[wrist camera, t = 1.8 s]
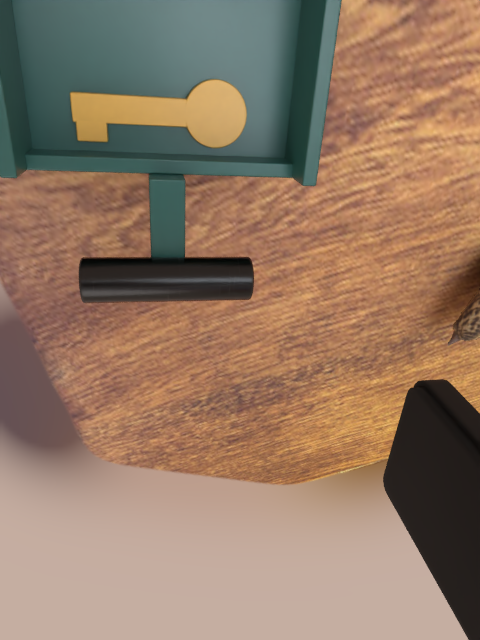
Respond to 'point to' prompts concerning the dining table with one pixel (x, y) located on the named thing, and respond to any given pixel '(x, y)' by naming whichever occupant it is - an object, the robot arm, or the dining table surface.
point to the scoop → (163, 141)
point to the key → (165, 113)
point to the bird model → (468, 322)
